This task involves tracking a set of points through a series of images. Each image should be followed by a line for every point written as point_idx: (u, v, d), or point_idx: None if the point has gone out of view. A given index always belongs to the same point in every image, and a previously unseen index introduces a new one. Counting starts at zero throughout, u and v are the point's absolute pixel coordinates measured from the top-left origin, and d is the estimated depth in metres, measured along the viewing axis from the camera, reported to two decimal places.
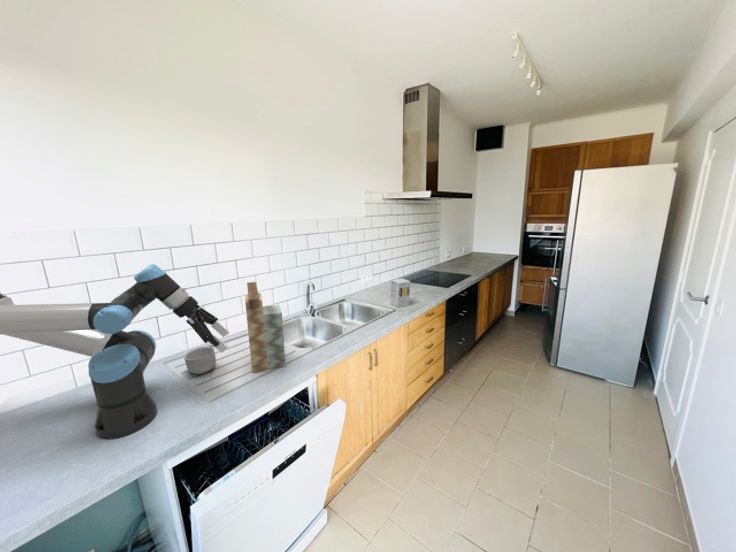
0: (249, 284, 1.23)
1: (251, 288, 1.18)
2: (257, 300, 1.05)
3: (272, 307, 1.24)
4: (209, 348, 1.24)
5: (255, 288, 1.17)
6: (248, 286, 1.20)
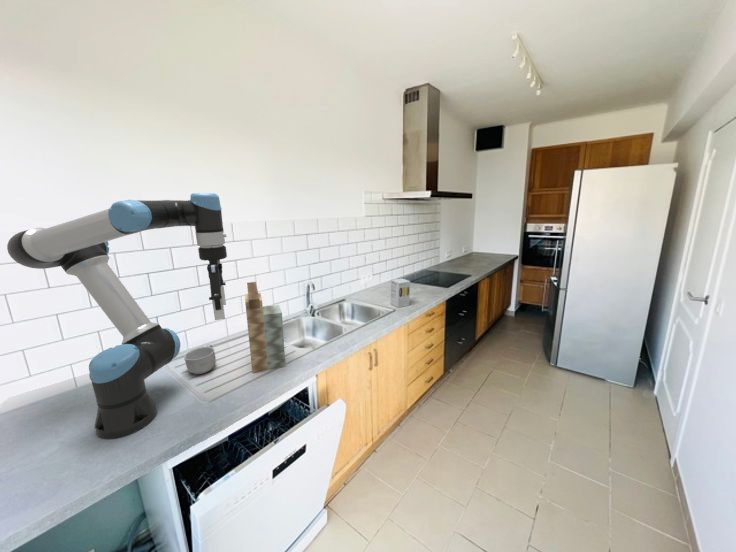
0: (249, 284, 1.23)
1: (251, 288, 1.18)
2: (257, 300, 1.05)
3: (272, 307, 1.24)
4: (209, 348, 1.24)
5: (255, 288, 1.17)
6: (248, 286, 1.20)
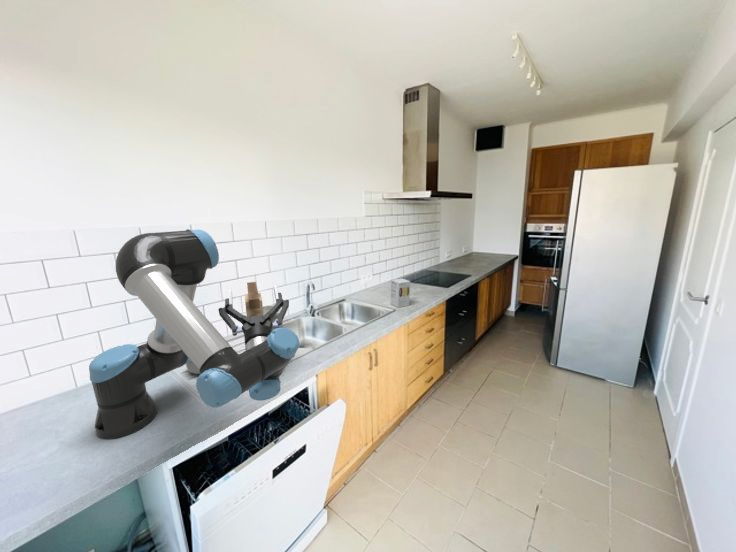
0: (249, 284, 1.23)
1: (251, 288, 1.18)
2: (257, 300, 1.05)
3: None
4: None
5: (255, 288, 1.17)
6: (248, 286, 1.20)
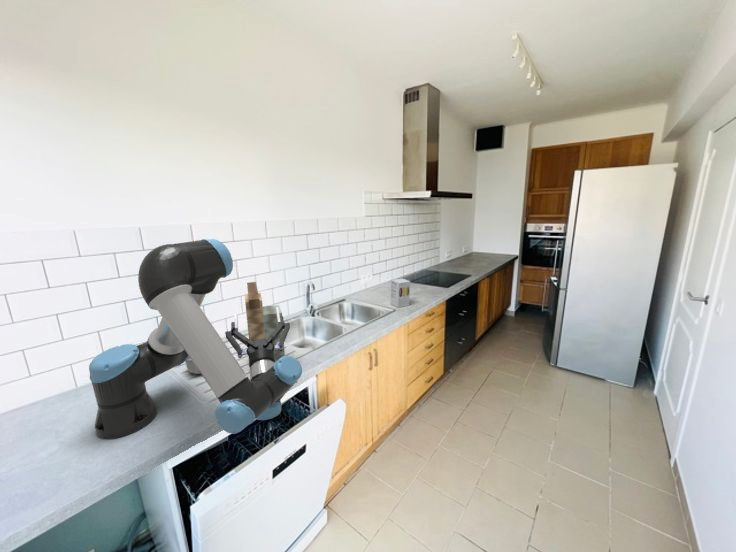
0: (249, 284, 1.23)
1: (251, 288, 1.18)
2: (257, 300, 1.05)
3: (272, 307, 1.24)
4: None
5: (255, 288, 1.17)
6: (248, 286, 1.20)
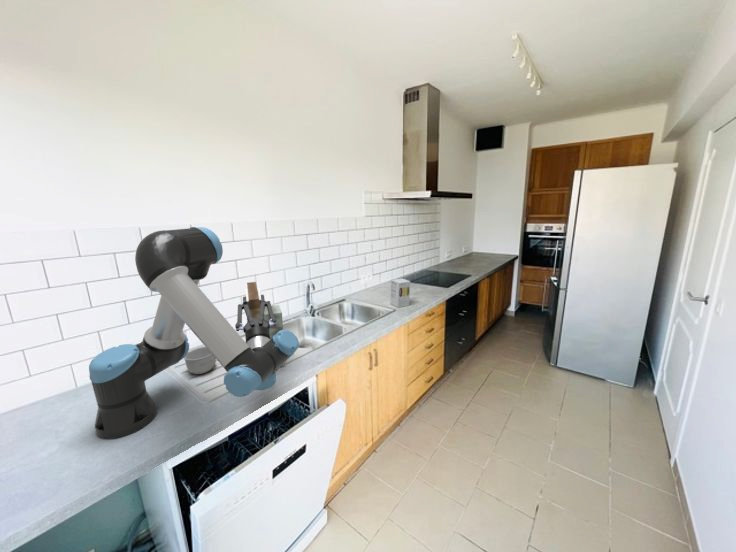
0: (249, 284, 1.23)
1: (251, 288, 1.18)
2: (257, 300, 1.05)
3: (272, 307, 1.24)
4: None
5: (255, 288, 1.17)
6: (248, 286, 1.20)
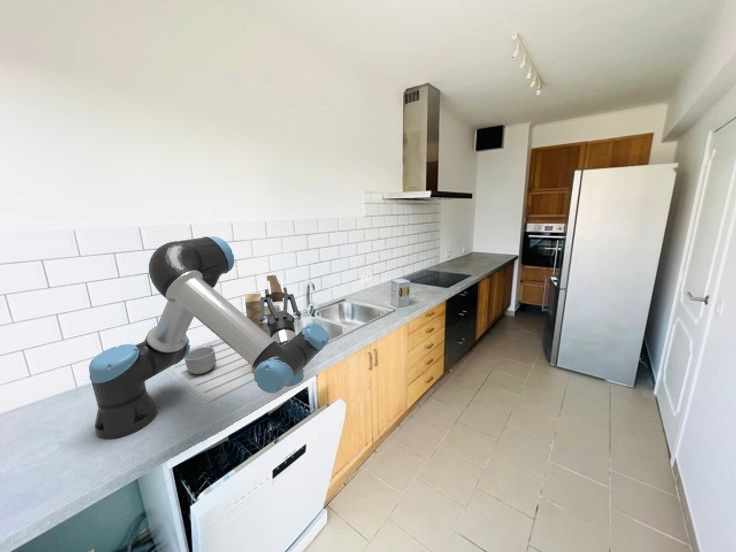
0: (269, 277, 1.18)
1: (272, 281, 1.13)
2: (280, 293, 1.01)
3: None
4: (209, 348, 1.24)
5: (276, 281, 1.13)
6: (268, 279, 1.16)
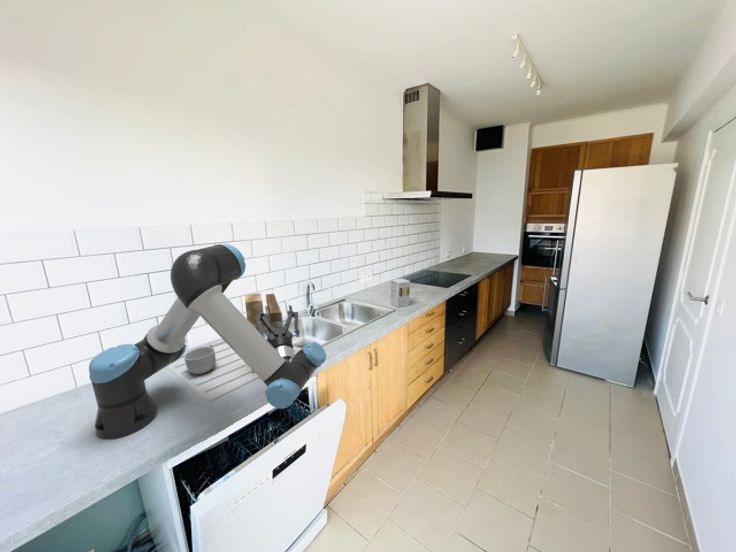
0: (268, 296, 1.27)
1: (271, 300, 1.22)
2: (278, 313, 1.09)
3: None
4: (209, 348, 1.24)
5: (275, 301, 1.21)
6: (267, 298, 1.24)
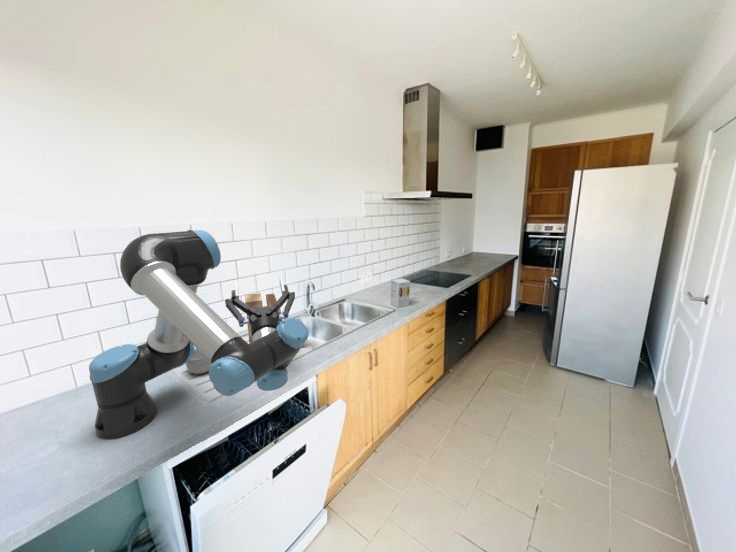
0: (268, 296, 1.27)
1: (271, 300, 1.22)
2: (278, 313, 1.09)
3: None
4: None
5: (275, 301, 1.21)
6: (267, 298, 1.24)
